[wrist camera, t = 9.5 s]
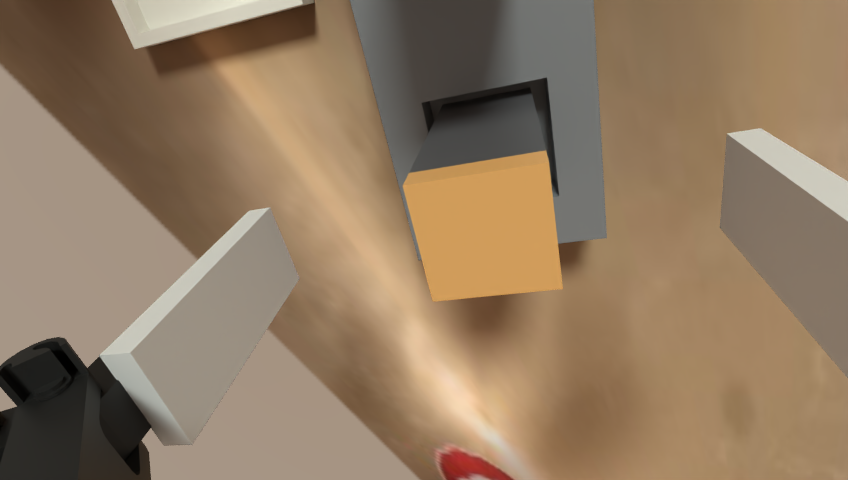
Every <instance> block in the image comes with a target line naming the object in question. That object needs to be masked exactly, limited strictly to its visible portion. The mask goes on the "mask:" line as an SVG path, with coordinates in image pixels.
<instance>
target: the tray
mask: <svg viewBox="0 0 848 480" xmlns="http://www.w3.org/2000/svg"><path fill="white" fill-rule="evenodd" d="M112 2H113V4H114V6H115V8H116V11H117V13H118V15H119V17H120V19H121V21H122V23H123V26H124V28H125V30H126V32H127V34H128V36H129V38H130V41H131V43H132V45H133V47H134V49H138V48H144V47H149V46H154V45H158V44H162V43H166V42H169V41H173V40H177V39H181V38H184V37H188V36H192V35H196V34H199V33H203V32H207V31H211V30H214V29H218V28H222V27H226V26H229V25H233V24H237V23H241V22H244V21H248V20H252V19H256V18H259V17H263V16H267V15H271V14H274V13H278V12H282V11H286V10H289V9H293V8H297V7H301V6H304V5H308V4H312V3H315V2H314V0H112Z"/></svg>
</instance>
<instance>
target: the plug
mask: <svg viewBox="0 0 848 480" xmlns="http://www.w3.org/2000/svg"><path fill="white" fill-rule="evenodd" d="M403 189H404V193H405V197H406V201H407V205H408V208H409V212H410V216H411V220H412V224H413V228H414V231H415V235H416V239H417V243H418V247H419V251H420V254H421V258H422V262H423V266H424V270H425V274H426V277H427V281H428V285H429V289H430V293H431V297H432V301H433V302H435V301H445V300H455V299H465V298H475V297H485V296H495V295H506V294H516V293H526V292H536V291H546V290H556V289H563V286H562V276H561V267H560V258H559V249H558V240H557V231H556V221H555V212H554V203H553V194H552V185H551V176H550V166H549V160H548V156H547V152H546V148H545V144H544V140H543V136H542V132H541V128H540V124H539V120H538V116H537V112H536V108H535V104H534V100H533V96H532V92H531V88H530V87H529V88H524V89H519V90H513V91H508V92H503V93H498V94H493V95H488V96H483V97H478V98H473V99H468V100H463V101H458V102H453V103H448V104H443V105H442V107H441V109H440V111H439V113H438V115H437V117H436V119H435V121H434V123H433V125H432V127H431V129H430V131H429V133H428V135H427V137H426V139H425V141H424V143H423V145H422V147H421V149H420V151H419V153H418V156H417V158H416V160H415V162H414V164H413V166H412V168H411V170H410V172H409V174H408V176H407V178H406V180H405V182H404V184H403Z"/></svg>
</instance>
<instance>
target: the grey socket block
mask: <svg viewBox="0 0 848 480" xmlns="http://www.w3.org/2000/svg"><path fill="white" fill-rule="evenodd" d="M350 3H351V6H352V10H353V14H354V18H355V21H356V25H357V29H358V33H359V37H360V40H361V44H362V48H363V52H364V56H365V59H366V63H367V67H368V71H369V74H370V78H371V82H372V86H373V90H374V93H375V97H376V101H377V105H378V109H379V112H380V116H381V120H382V124H383V127H384V131H385V135H386V139H387V143H388V146H389V150H390V154H391V158H392V162H393V165H394V169H395V173H396V177H397V180H398V184H399V188H400V192H401V196H402V199H403V203H404V207H405V211H406V215H407V218H408V222H409V226H410V230H411V233H412V237H413V241H414V245H415V249H416V252H417V256H418V260H422V258H421V254H420V251H419V247H418V243H417V239H416V235H415V231H414V228H413V224H412V220H411V216H410V212H409V208H408V205H407V201H406V197H405V193H404V189H403V184H404V182H405V180H406V178H407V176H408V174H409V172H410V170H411V168H412V166H413V164H414V162H415V160H416V158H417V156H418V153H419V151H420V149H421V147H422V145H423V143H424V141H425V139H426V137H427V135H428V133H429V131H430V129H431V127H432V125H433V123H434V121H435V119H436V117H437V115H438V113H439V111H440V109H441V107H442V105H443V104H448V103H453V102H458V101H463V100H468V99H473V98H478V97H483V96H488V95H493V94H498V93H503V92H508V91H513V90H519V89H524V88H529V87H530V88H531V92H532V96H533V100H534V104H535V108H536V112H537V116H538V120H539V124H540V128H541V132H542V136H543V140H544V144H545V148H546V152H547V156H548V160H549V166H550V176H551V185H552V194H553V203H554V212H555V221H556V231H557V240H558V244H559V243H568V242H576V241H584V240H593V239H601V238H607V233H606V215H605V198H604V180H603V162H602V144H601V126H600V108H599V90H598V73H597V55H596V37H595V19H594V1H593V0H350Z"/></svg>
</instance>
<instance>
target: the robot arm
mask: <svg viewBox="0 0 848 480" xmlns="http://www.w3.org/2000/svg"><path fill="white" fill-rule="evenodd" d="M720 228H721V230H722V231H723V232H724V233H725V234H726V236H727V237H728V238H729V239H730V240H731V241H732V243H733V244H734V245H735V246H736V247H737V248H738V250H739V251H740V252H741V253H742V254H743V256H744V257H745V258H746V259H747V260H748V261H749V263H750V264H751V265H752V266H753V267H754V268H755V270H756V271H757V272H758V273H759V274H760V275H761V277H762V278H763V279H764V280H765V281H766V283H767V284H768V285H769V286H770V287H771V288H772V290H773V291H774V292H775V293H776V294H777V295H778V297H779V298H780V299H781V300H782V301H783V303H784V304H785V305H786V306H787V307H788V308H789V310H790V311H791V312H792V313H793V314H794V315H795V317H796V318H797V319H798V320H799V321H800V323H801V324H802V325H803V326H804V327H805V328H806V330H807V331H808V332H809V333H810V334H811V335H812V337H813V338H814V339H815V340H816V341H817V342H818V344H819V345H820V346H821V347H822V348H823V350H824V351H825V352H826V353H827V354H828V355H829V357H830V358H831V359H832V360H833V361H834V362H835V364H836V365H837V366H838V367H839V368H840V370H841V371H842V372H843V373H844V374H845V375H846V377H847V378H848V181H846V180H845V179H843V178H841V177H840V176H838V175H836V174H835V173H833V172H831V171H830V170H828V169H827V168H825V167H823V166H822V165H820V164H818V163H817V162H815V161H813V160H812V159H810V158H809V157H807V156H805V155H804V154H802V153H800V152H799V151H797V150H795V149H794V148H792V147H790V146H789V145H787V144H786V143H784V142H782V141H781V140H779V139H777V138H776V137H774V136H772V135H771V134H769V133H768V132H766V131H764V130H763V129H761V128H759V129H753V130H747V131H741V132H734V133H728V134H727V138H726V152H725V165H724V179H723V192H722V205H721V219H720ZM299 279H300V278H299V276H298V273H297V271H296V269H295V266H294V264H293V261H292V259H291V257H290V254H289V252H288V250H287V247H286V245H285V242H284V240H283V238H282V235H281V233H280V230H279V228H278V226H277V223H276V221H275V218H274V216H273V214H272V211H271V209H270V208H264V209H257V210H251V211H248V212H247V213H246V214H245V215H244V216H243V217H242V218H241V219H240V220H239V221H238V222H237V223H236V224H235V225H234V226H233V227H232V228H231V229H230V230H229V231H227V232H226V233H225V234H224V235H223V236H222V237H221V238H220V239H219V240H218V241H217V242H216V243H215V244H214V245H213V246H212V247H211V248H210V249H209V250H208V251H207V252H206V253H205V254H204V255H203V256H202V257H201V258H200V259H198V260H197V261H196V262H195V263H194V264H193V265H192V266H191V267H190V268H189V269H188V270H187V271H186V272H185V273H184V274H183V275H182V276H181V277H180V278H179V279H178V280H177V281H176V282H175V283H174V284H173V285H172V286H171V287H169V288H168V290H166V291H165V293H163V294H162V295H161V296H160V297H159V298H158V299H157V300H156V301H155V302H154V303H153V304H152V305H151V306H150V307H149V308H148V309H147V310H146V311H145V312H144V313H143V314H142V315H140V317H138V318H137V319H136V320H135V321H134V322H133V323H132V324H131V325H130V326H129V327H128V328H127V329H126V330H125V331H124V332H123V333H122V334H121V335H120V336H119V337H118V338H117V339H116V340H115V341H114V342H112V343H111V344H110V345H109V346H108V347H107V348H106V349H105V350H104V351H103V352H102V353H101V354H100V355H99V357H98V358H97V359H96V360H95V361H94V362H93V363H92V364H91V365H90V366H89V367H88V368H87V367H86V366H85V365H84V364H83V362H82V361H81V359H80V358H79V357H78V355H77V354H76V353H75V351H74V350H73V349H72V347H71V346H70V345H69V343H68V342H67V341H66V339H64V338H60V337H57V338H51V339H47V340H44V341H41V342H38V343H36V344H34V345H31V346H29V347H28V348H26V349H24V350H22V351H20V352H18V353H17V354H15V355H14V356H12V357H11V358H9V359H8V360H6V361H5V362H4V363H3V364H2V365H1V366H0V387H1V388H2V389H3V390H4V392H5V393H6V394H7V395H8V396H9V397H10V398H11V399H12V401H13V402H14V403H15V404H16V405H17V407H14V408H12V409H8V410H5V411H2V412H0V480H151V474H150V461H149V452H148V450H147V448H146V446H145V445H144V444H143V442H142V441H141V440H142V438H143V437H144V436H145V434H146V433H147V432H148V431H149V429H150V428H152V430H153V431H154V432H155V434H156V435H157V437H158V438H159V439H160V441H161V442H162V444H163V445H192V444H193V443H194V441H195V440H196V438H197V437H198V435H199V433H200V432H201V430H202V429H203V427H204V426H205V424H206V423H207V421H208V420H209V418H210V416H211V415H212V413H213V412H214V410H215V409H216V407H217V406H218V404H219V403H220V401H221V399H222V398H223V396H224V395H225V393H226V392H227V390H228V388H229V387H230V385H231V384H232V382H233V381H234V379H235V378H236V376H237V374H238V373H239V372H240V370H241V369H242V367H243V365H244V364H245V362H246V361H247V359H248V358H249V356H250V355H251V353H252V351H253V350H254V348H255V347H256V345H257V344H258V342H259V341H260V339H261V338H262V336H263V334H264V333H265V331H266V330H267V328H268V327H269V325H270V324H271V322H272V321H273V319H274V317H275V316H276V314H277V313H278V311H279V310H280V308H281V307H282V305H283V303H284V302H285V300H286V299H287V297H288V296H289V294H290V293H291V291H292V290H293V288H294V286H295V285H296V283H297V282H298V280H299Z"/></svg>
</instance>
